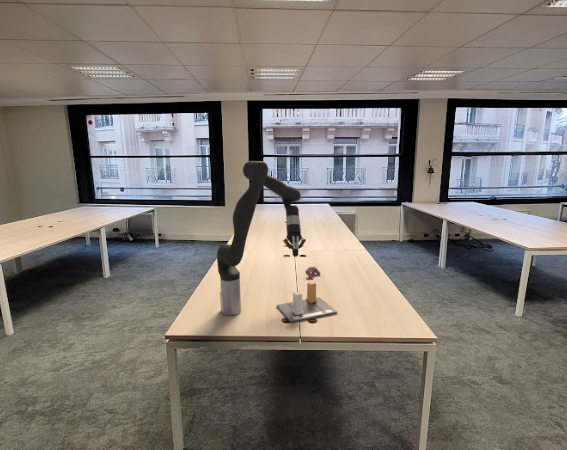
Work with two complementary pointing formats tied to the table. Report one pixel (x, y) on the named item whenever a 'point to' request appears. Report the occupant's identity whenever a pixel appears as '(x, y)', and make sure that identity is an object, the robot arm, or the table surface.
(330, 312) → the switch panel
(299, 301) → the white slide tab
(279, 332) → the table surface
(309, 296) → the orange tab
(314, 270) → the video game controller
